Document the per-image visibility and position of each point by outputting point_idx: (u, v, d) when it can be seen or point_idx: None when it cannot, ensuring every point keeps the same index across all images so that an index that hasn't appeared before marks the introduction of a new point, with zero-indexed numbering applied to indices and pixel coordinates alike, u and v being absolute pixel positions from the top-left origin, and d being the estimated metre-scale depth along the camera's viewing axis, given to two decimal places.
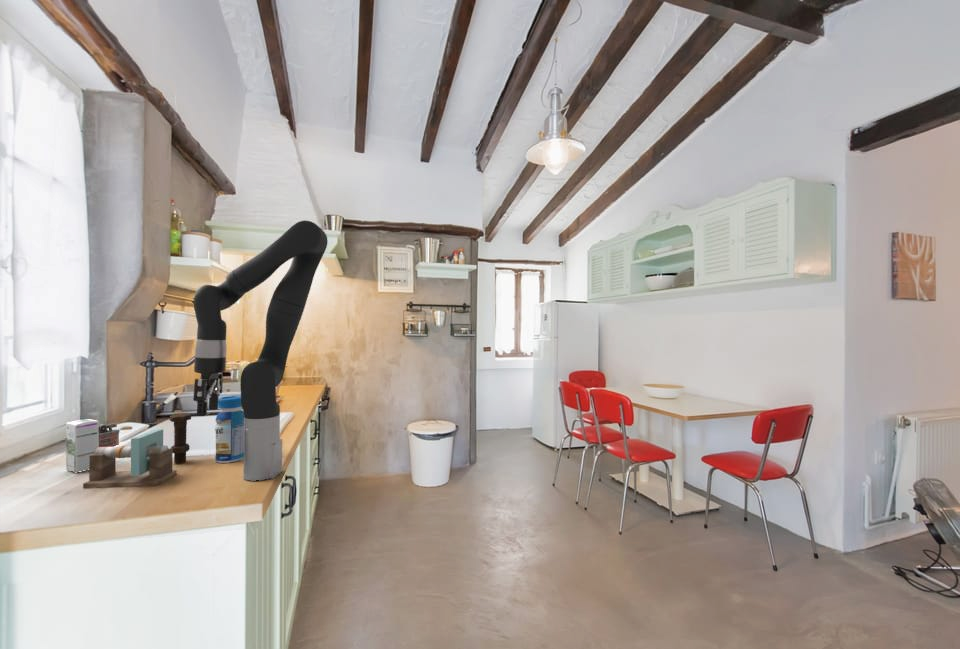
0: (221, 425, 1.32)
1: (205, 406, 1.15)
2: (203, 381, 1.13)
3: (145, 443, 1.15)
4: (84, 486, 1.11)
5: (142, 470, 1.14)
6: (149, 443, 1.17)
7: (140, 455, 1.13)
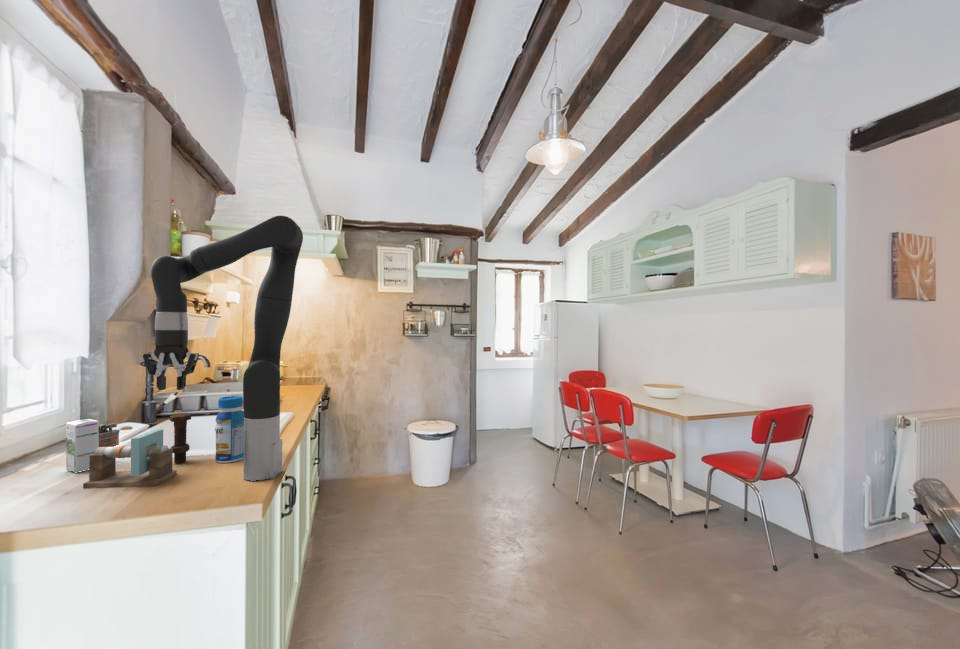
0: (221, 425, 1.32)
1: None
2: (198, 356, 1.19)
3: (145, 443, 1.15)
4: (84, 486, 1.11)
5: (142, 470, 1.14)
6: (149, 443, 1.17)
7: (140, 455, 1.13)
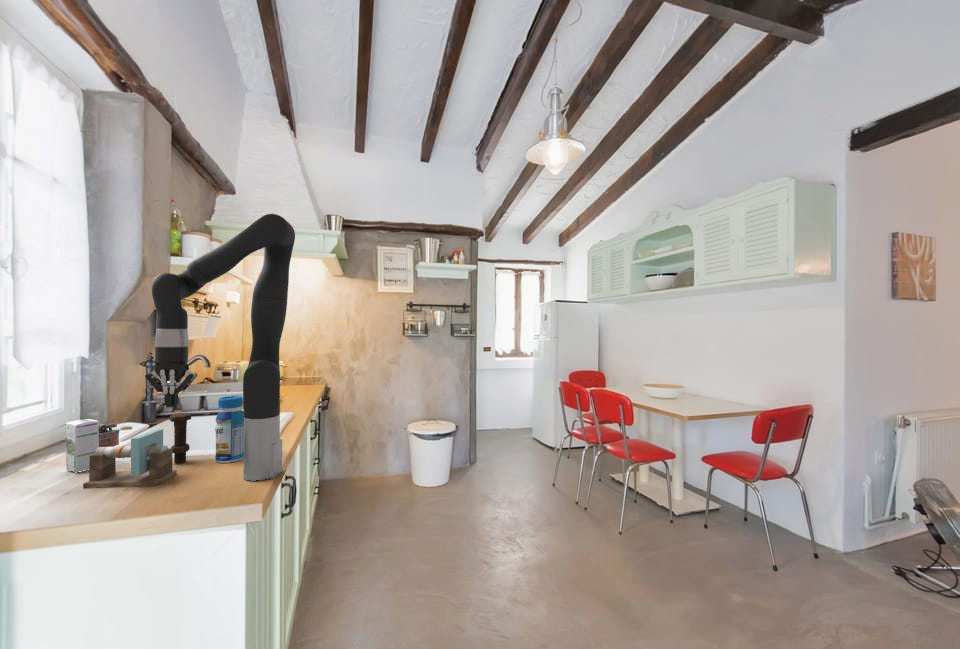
0: (221, 425, 1.32)
1: None
2: (195, 376, 1.19)
3: (145, 443, 1.15)
4: (84, 486, 1.11)
5: (142, 470, 1.14)
6: (149, 443, 1.17)
7: (140, 455, 1.13)
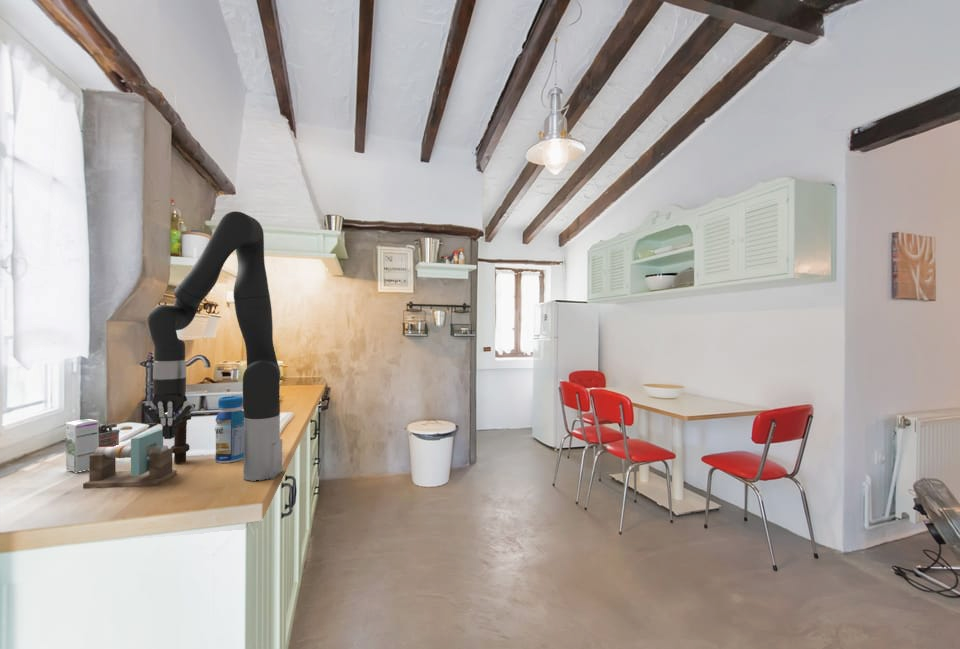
0: (221, 425, 1.32)
1: None
2: (193, 407, 1.19)
3: (145, 443, 1.15)
4: (84, 486, 1.11)
5: (142, 470, 1.14)
6: (149, 443, 1.17)
7: (140, 455, 1.13)
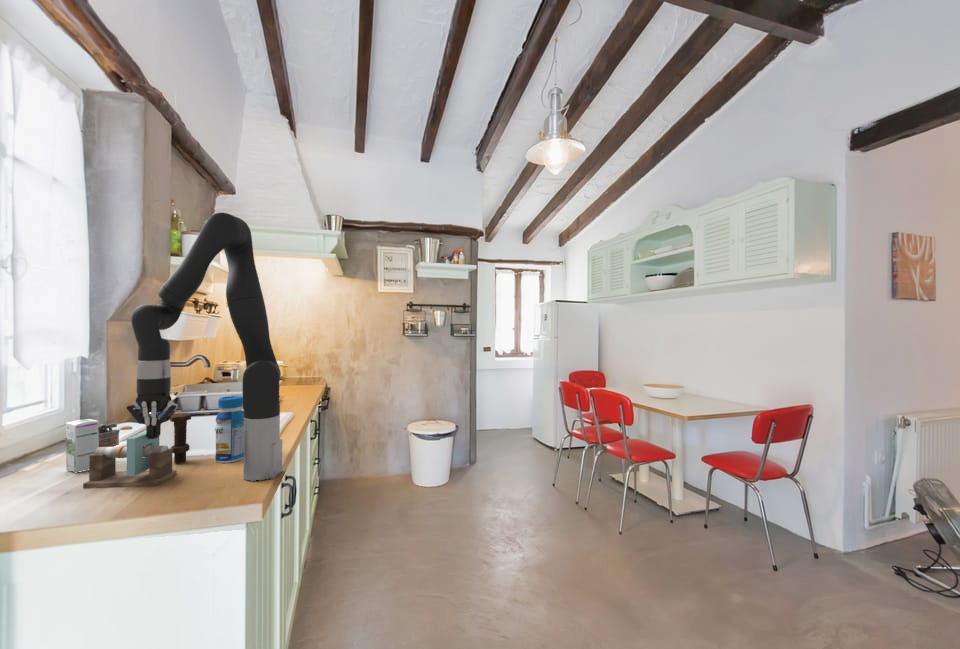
0: (221, 425, 1.32)
1: None
2: (178, 407, 1.19)
3: (141, 443, 1.15)
4: (84, 486, 1.11)
5: (138, 470, 1.14)
6: (145, 443, 1.16)
7: (136, 455, 1.13)
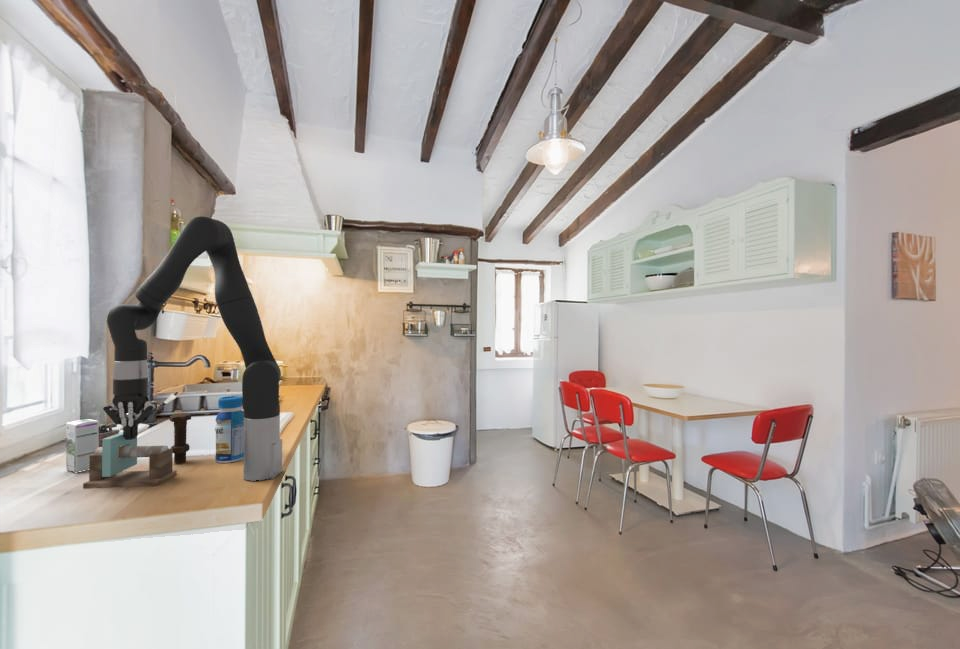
0: (221, 425, 1.32)
1: None
2: (155, 408, 1.18)
3: (117, 444, 1.14)
4: (84, 486, 1.11)
5: (114, 471, 1.13)
6: (122, 444, 1.16)
7: (112, 456, 1.12)
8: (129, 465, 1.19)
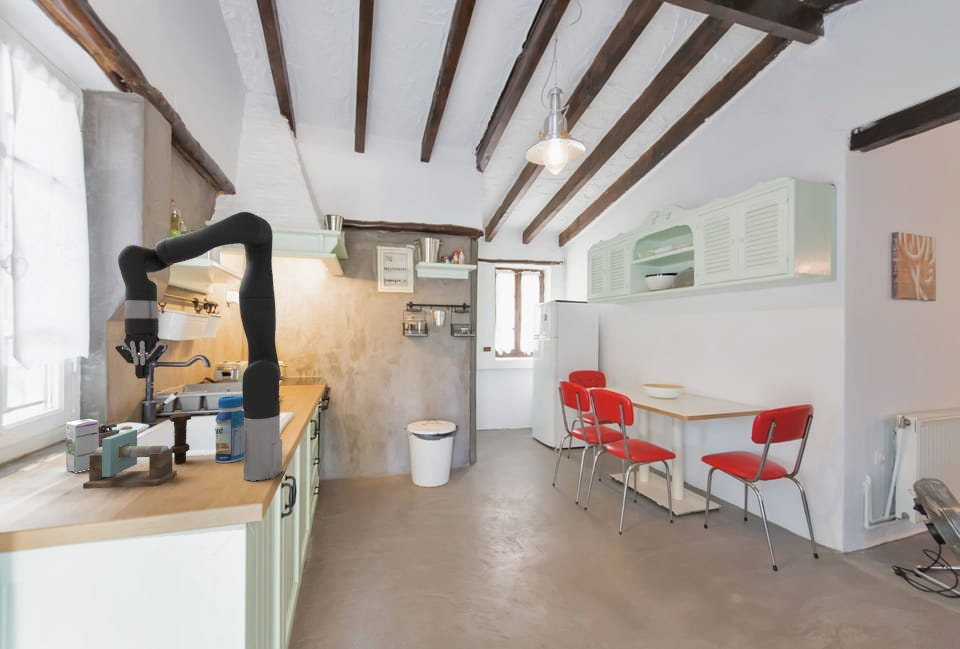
0: (221, 425, 1.32)
1: None
2: (166, 348, 1.21)
3: (117, 444, 1.14)
4: (84, 486, 1.11)
5: (114, 471, 1.13)
6: (121, 444, 1.16)
7: (112, 456, 1.12)
8: (129, 465, 1.19)
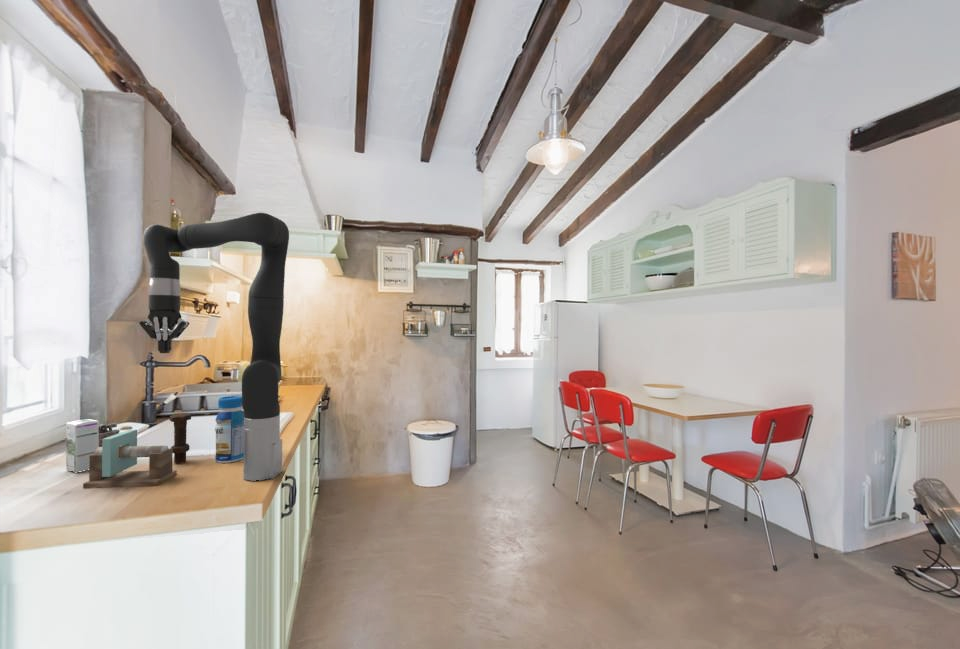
0: (221, 425, 1.32)
1: None
2: (187, 324, 1.26)
3: (117, 444, 1.14)
4: (84, 486, 1.11)
5: (114, 471, 1.13)
6: (121, 444, 1.16)
7: (112, 456, 1.12)
8: (129, 465, 1.19)
